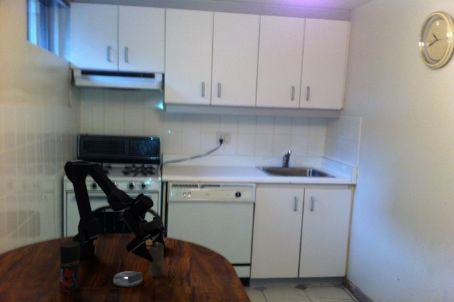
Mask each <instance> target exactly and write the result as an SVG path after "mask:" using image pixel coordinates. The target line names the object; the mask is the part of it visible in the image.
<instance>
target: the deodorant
mask: <svg viewBox="0 0 454 302" xmlns="http://www.w3.org/2000/svg"><path fill="white" fill-rule="evenodd" d="M79 248H80V243H79V242H76V241H73V240H70V241H69V240H68V241H64V242H62V243H60V245H59V253H60V254H59V290H60V291H61V292H64V293H67V292H68V293H69V292H73V291H74V292H75V291H76V290H78V289H79V287H80V259H79Z"/></svg>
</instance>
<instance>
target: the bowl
mask: <svg viewBox="0 0 454 302" xmlns="http://www.w3.org/2000/svg"><path fill="white" fill-rule="evenodd" d="M143 278H144V277H143V272H142V271H139V272H138V271H133V270H129V271H128V270H127V271H122V272H121V271H120V272H118V273H117V274H115V275H114V276H113V284H114V285H116V286H117V287H123V288H131V287H135V286H138V285H140V284H141V283H142V282H143Z"/></svg>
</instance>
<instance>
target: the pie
mask: <svg viewBox="0 0 454 302" xmlns="http://www.w3.org/2000/svg"><path fill="white" fill-rule="evenodd" d="M163 239H164V243H165V246H166V247H167V246H168V245H169V243H170V242H169V240H168V239H167V238H166V237H163ZM145 242H146V248H147V249H148V251H149V253H150V245H151V244H152V240H150V239H149V240H147V241H145ZM143 243H144V242H143Z"/></svg>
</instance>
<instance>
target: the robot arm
mask: <svg viewBox="0 0 454 302" xmlns="http://www.w3.org/2000/svg"><path fill="white" fill-rule="evenodd" d="M63 170H64V172H65V173H64V174H65V176H66V178H67V180H69V182H70V183H71V184H72V189H73V192H74V196H75V202H76V207H77V212H78V215H79V221H78V224H77V233H76V234H75V235H74V236H73V237H72V241H76V242H79V243H80V248H79V260H92V259H94V258H95V255H96V246H97V245H96V243H95V241H97V240H98V239H99V236H100V234H101V233H102V228H103V227H102V225H101V220H100V218H96V217H95V216H94V215H93V210H92V204H91V201H90V196H89V192H88V187H87V181H86V180H87V177H88V175H89V176H90V178H91V179H92V180H93V181H94V182H95V184H96V185H97V186H98V187H99V189H100V190H101V191H102V192H103V194H104V195H105V197H106V202H107V204H108V206H109V207H110V209H111V210H112V211H113V212H116V213H117V212H120V213H118V217H117V221H118V222H121V221H123V222H124V223H125V224H126V226H127V227H128V229H129V230H128V233H129V234H133V236H134V237H133V238H132V239H131V240H130V241H129V242H127V244H126V245H125V250H126V252H127V253H128V254H130V253H131V254H134V255H136V256H139V257H141V258H143V259H144V260H147V261H149V263H150V262H153V261H154V260H153V258H152V256H151V254H150V253H149V251H148V249H147V248H146V242H145V241H147V240H149V239H150V240H152V243H156V242H158V243H162V244H163V245H164V252H163V254H164V255H165V254H167V253H168V250H167V246H165V243H164V239H163V238H165V236H164V235H165V234H166V231H167V229H166V228H165V226H164V225H162V223H163V219H162V218H161V217H160V216H159V215H156V216H153V217H152V220H150V221H148V220H147V219H143V218H142V217H143V216H145V215H146V214H147V213H148V212H149V211H150V210H151V209H152V208H153V207H154V204H155V203H154V201H153V198H152V197H149V196H148V195H145V194H144V192H142V193H138V195H137V196H136V197H135V198H133V197H131V196H130V195H129V194H127V192H125V191H124V190H122V189H120V188H118V187H117V186H116V184H115V183H114V182H113V181H112V180H111V178H110V177H109V176H108V175H107V174H106V173H105V171H104V170H103V169H102V167H101V165H100V164H99V163H98V162H96V161H95V162H91V161H84V160H83V159H76V160H75V159H74V160H68V161H67V162H65V164H64V166H63ZM121 211H123V212H121ZM143 242H144V243H143Z"/></svg>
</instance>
